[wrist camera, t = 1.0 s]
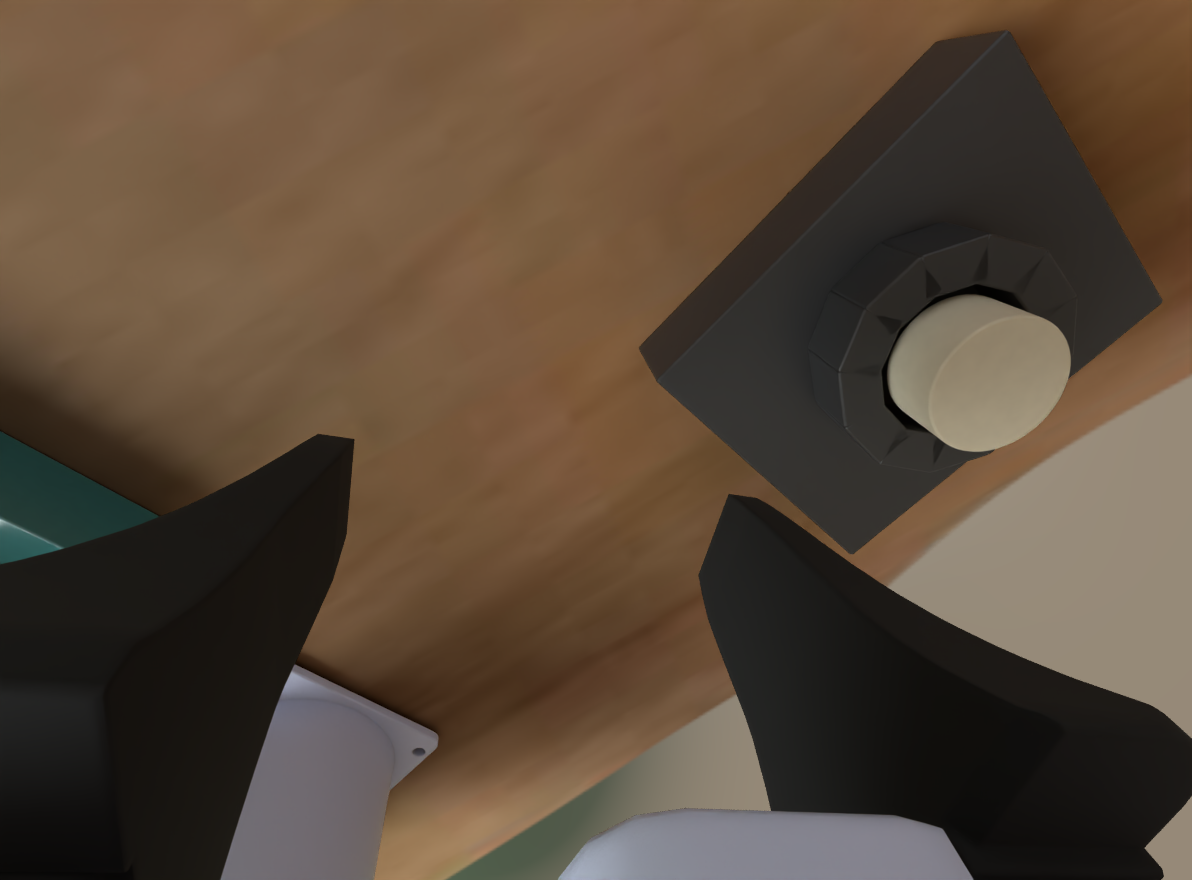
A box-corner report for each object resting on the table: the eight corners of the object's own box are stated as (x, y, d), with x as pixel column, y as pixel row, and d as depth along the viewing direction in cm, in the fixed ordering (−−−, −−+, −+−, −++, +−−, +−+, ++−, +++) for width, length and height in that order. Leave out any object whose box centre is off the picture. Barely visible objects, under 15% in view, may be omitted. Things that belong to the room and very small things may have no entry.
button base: (815, 509, 25) (881, 594, 21) (637, 347, 21) (671, 409, 17) (1085, 279, 22) (1232, 320, 18) (936, 39, 18) (1074, 16, 14)
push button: (929, 442, 19) (975, 477, 17) (860, 365, 17) (902, 395, 15) (1036, 353, 18) (1096, 380, 16) (972, 263, 16) (1030, 283, 14)
